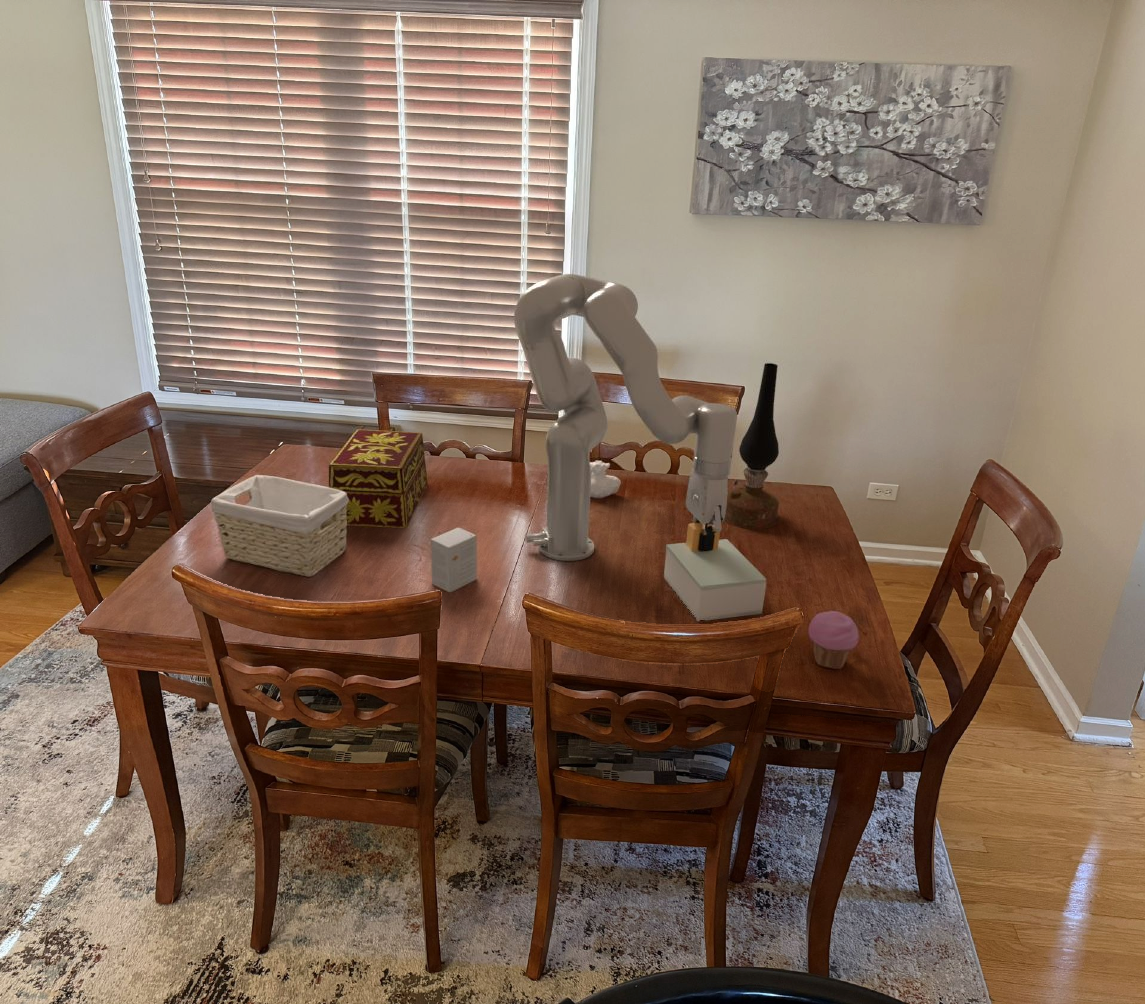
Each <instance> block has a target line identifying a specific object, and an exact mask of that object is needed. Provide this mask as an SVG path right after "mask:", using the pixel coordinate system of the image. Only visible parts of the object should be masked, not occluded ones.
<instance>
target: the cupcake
mask: <svg viewBox="0 0 1145 1004" xmlns="http://www.w3.org/2000/svg"><path fill="white" fill-rule="evenodd" d="M858 630H859V629H858V626H857V624H856V623H855V621H854V620H853V619H852V618H851V617H850V616H848V615H846V614H845V613H842V612H839V611H835V610H829V611H824V612H820V613H817V614H816V615H815V616H814V617H813V618H812V620H811V621H810V624H809V626H808V635H809V638H810V639H811V641H813V655H814V660H815V662H816V663H817V664H818V665H819V666H821V667H824V668H830V669H835V670H840V669H842V668H843V667H844V666H845V663H846V660H847V657H848V656H849V653H850V651H851V650H852V649H854V648H855V647H856V646H857V644H858V642H859V640H860V635H859V631H858Z"/></svg>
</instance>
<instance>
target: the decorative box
mask: <svg viewBox="0 0 1145 1004" xmlns="http://www.w3.org/2000/svg"><path fill="white" fill-rule="evenodd" d="M423 439H424V437H423V433H422V432H420V431H419V432H418V431H417V432H416V431H397V430H395V431H394V430H376V429H375V430H374V429H373V430H372V429H356V430H355V431H354V432H353V434H352V435H351V437H350V438H348V440H347V442H345V444H344V445H343V446H342V448H341V449H340V450H339V452H337V454H336V455H335V456H334V458H333V459H332V460H331V462H330V463H329V465H328V487H329V488H333V489H337V490H340V491H343V492H345V493H346V494H347V497H348V499H349V502H348V503H347V506H346V511H347V512H346V516H347V518H346V520H347V526H349V527H368V528H388V529H389V528H390V529H391V528H392V529H407V528H408V527H409V525H410V523H411V520H412V519H413V516H414V513H415V512H416V510H417V508H418V506H419V503H420V502H421V500H422V497H423V495H424V493H425V491H426V489H427V486H428V481H429V480H428V473H427V466H426V465H427V464H426V455H425V447H424V440H423ZM347 526H346V527H347Z"/></svg>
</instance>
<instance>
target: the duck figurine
mask: <svg viewBox="0 0 1145 1004" xmlns="http://www.w3.org/2000/svg"><path fill="white" fill-rule="evenodd" d="M610 466H611V463H609V462H608V463H607V462H606V463H605V462H603V461H602V460H595V461H592V462H591V461H590V467H591V493H590V498H595V499H603V498H605V497H608V496H610V495H613V494H616V493H617V492H618V490H619V488H620V486H621V484H622V482H621V480H620V478H618V477H616V476H614V475H608V474H607V472H606V470H607V469H609V468H610Z"/></svg>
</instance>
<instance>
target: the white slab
mask: <svg viewBox="0 0 1145 1004" xmlns="http://www.w3.org/2000/svg"><path fill="white" fill-rule="evenodd" d="M702 525H703V524H702V523H691V522H690V523H688V524H687V529H686V532H687V533H686V539H685V541H686V542H680V543H679V542H678V543H677V542H676V543H669V544H665V548H666V549H667V550H668V551H669V552H670V553H671V554H672V556H673V557H674V558H675V559H676V561H677V562H678V563H679V564H680V565H681V567H682V568H683V569H684V570H685V572H686V573H687V574H688V575H689V576H690V578H691V579H692V580H693V581H694V582H695V584H696V585H697V586H698V587H699V589H700V590H704V589H714V588H723V587H733V586H742V585H752V584H761V583H766V584H767V578H766V577H765V576H764V575H763V574H762V573H761V572H760V571H759V570H758V569H757V568H756V567H755V566H754V565H753V564H752V563H751V562H750V561H749V560H748V559H747V558H746V557H745V556H744V554H742V553H741V551H739V550H738V548H736V546H734V544H733V543H731V541H729V540H728V539H727V538H726V539H725V538H724V539H720V534H721V531H717V532H716V534H715V538H714V546H713V550H711V551H701V552H700V551H699V550H698V545H699V537H700V533H702ZM708 526H712V524H707V527H708Z"/></svg>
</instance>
